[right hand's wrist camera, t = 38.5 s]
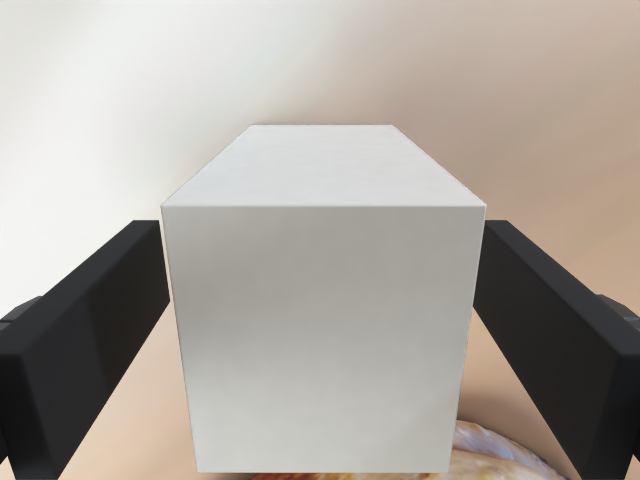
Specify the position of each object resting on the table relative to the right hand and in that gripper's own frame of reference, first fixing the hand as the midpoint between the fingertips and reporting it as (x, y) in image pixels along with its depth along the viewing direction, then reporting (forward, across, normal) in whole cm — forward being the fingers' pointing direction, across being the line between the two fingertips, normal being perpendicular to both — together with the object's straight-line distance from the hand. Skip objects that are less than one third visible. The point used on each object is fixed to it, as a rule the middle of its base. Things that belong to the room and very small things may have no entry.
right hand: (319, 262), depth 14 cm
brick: (+6, 0, 0) cm, 6 cm away
